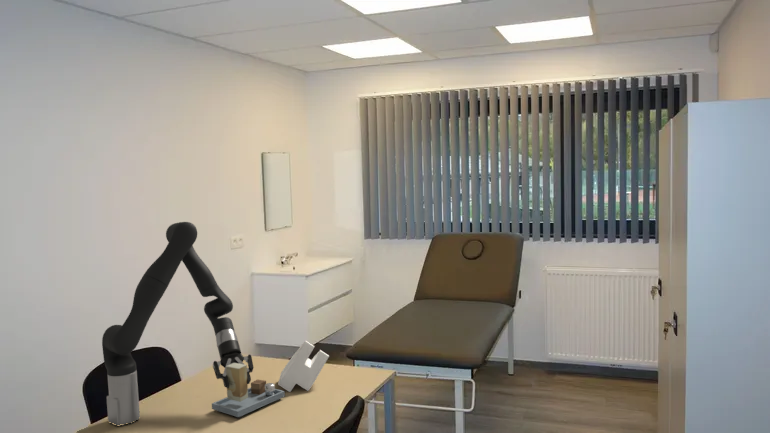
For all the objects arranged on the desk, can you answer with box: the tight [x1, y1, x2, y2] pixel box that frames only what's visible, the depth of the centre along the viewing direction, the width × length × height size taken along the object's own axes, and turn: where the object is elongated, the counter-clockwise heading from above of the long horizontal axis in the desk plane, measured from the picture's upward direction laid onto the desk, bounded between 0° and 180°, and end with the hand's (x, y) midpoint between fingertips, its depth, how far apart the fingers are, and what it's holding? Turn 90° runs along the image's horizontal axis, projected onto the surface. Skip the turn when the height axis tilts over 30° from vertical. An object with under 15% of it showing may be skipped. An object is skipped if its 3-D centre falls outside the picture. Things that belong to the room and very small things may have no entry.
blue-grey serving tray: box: [211, 387, 286, 419], centre depth 217 cm, size 22×14×3 cm, turn 144°
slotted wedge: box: [277, 340, 330, 393], centre depth 236 cm, size 14×11×18 cm
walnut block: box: [250, 379, 267, 395], centre depth 225 cm, size 4×4×4 cm
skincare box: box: [226, 363, 249, 402], centre depth 213 cm, size 6×4×12 cm
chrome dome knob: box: [265, 382, 276, 397], centre depth 221 cm, size 4×4×4 cm
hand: (238, 385), depth 211 cm, fingers closed on skincare box, 6 cm apart
